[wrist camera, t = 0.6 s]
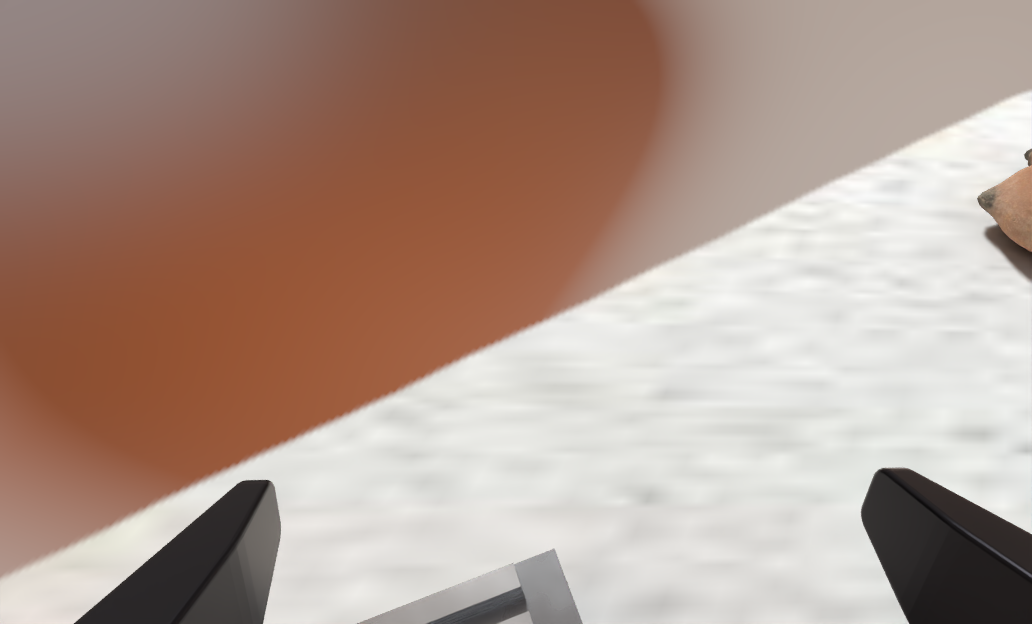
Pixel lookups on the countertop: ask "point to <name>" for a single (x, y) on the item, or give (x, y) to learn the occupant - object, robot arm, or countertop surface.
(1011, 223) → the brown rounded lump
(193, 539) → the robot arm
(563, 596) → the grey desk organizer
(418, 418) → the countertop surface
